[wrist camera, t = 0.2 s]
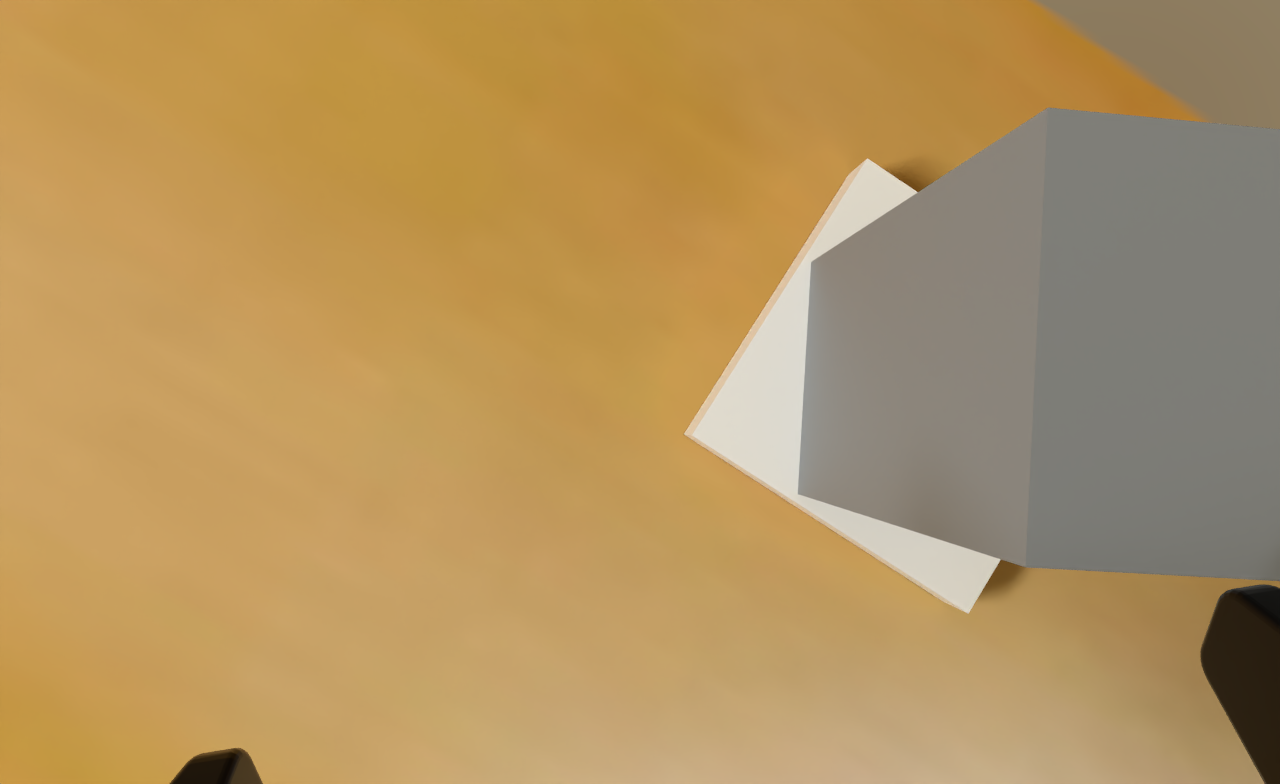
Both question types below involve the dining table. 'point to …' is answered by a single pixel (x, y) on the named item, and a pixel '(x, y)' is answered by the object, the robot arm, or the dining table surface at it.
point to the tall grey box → (1064, 352)
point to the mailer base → (773, 403)
